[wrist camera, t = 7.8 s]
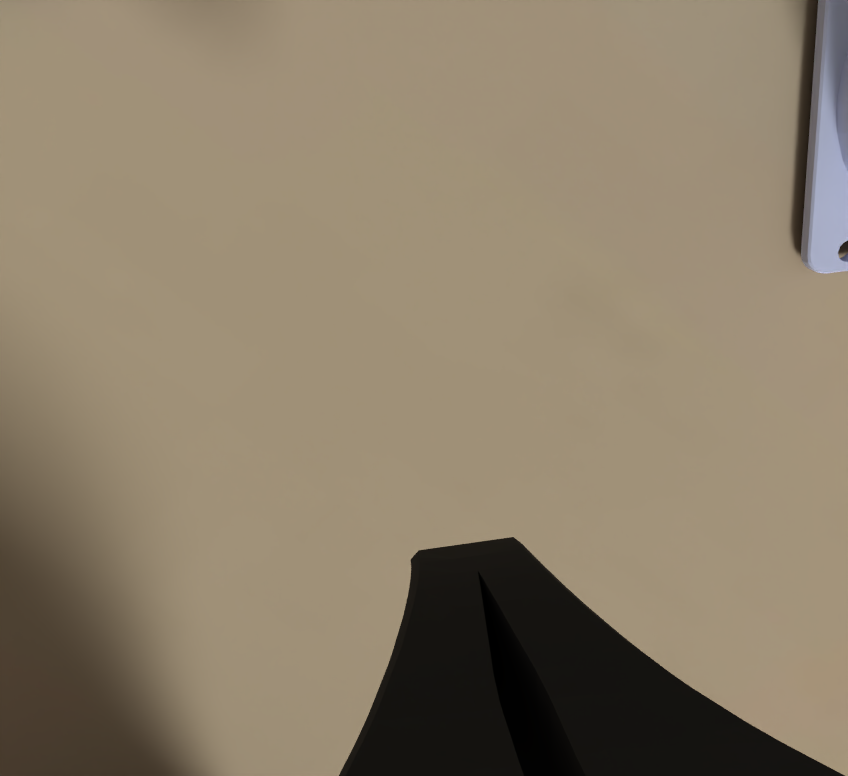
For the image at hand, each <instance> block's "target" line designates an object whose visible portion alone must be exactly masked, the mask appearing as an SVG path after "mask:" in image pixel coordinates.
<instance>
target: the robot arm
mask: <svg viewBox="0 0 848 776" xmlns="http://www.w3.org/2000/svg"><path fill="white" fill-rule="evenodd" d="M846 241H848V0H818V12H817V27H816V41H815V56H814V71H813V85H812V100H811V114H810V129H809V143H808V158H807V173H806V187H805V202H804V216H803V231H802V246H801V257H802V261H803V263H804V265H805V266H806V267H807V268H809V269H811V270H813V271H815V272H818V273H833V272H841V271H848V253H847V254H846V255H845V256H844V257H842V258H839V255H838V251H839V248H840V246H841V245H842V244H843V243H844V242H846ZM339 776H844V775H842V774H841V773H839V772H837V771H835V770H833V769H831V768H829V767H827V766H825V765H823V764H822V763H820V762H818V761H816V760H814V759H812V758H810V757H808V756H806V755H805V754H803V753H801V752H799V751H797V750H795V749H793V748H791V747H789V746H787V745H786V744H784V743H782V742H780V741H778V740H776V739H775V738H773V737H771V736H769V735H768V734H766V733H764V732H762V731H761V730H759V729H757V728H755V727H754V726H752V725H750V724H749V723H747V722H745V721H744V720H742V719H740V718H739V717H737V716H736V715H734V714H732V713H731V712H729V711H728V710H726V709H724V708H723V707H721V706H720V705H718V704H717V703H715V702H713V701H712V700H710V699H709V698H707V697H705V696H704V695H702V694H701V693H699V692H697V691H696V690H694V689H693V688H691V687H690V686H688V685H687V684H685V683H684V682H683V681H681V680H680V679H678V678H677V677H675V676H674V675H672V674H671V673H670V672H668V671H667V670H666V669H664V668H663V667H662V666H660V665H659V664H658V663H656V662H655V661H654V660H652V659H651V658H650V657H648V656H647V655H646V654H644V653H643V652H642V651H640V650H639V649H638V648H637V647H635V646H634V645H633V644H632V643H630V642H629V641H628V640H627V639H625V638H624V637H623V636H622V635H620V634H619V633H618V632H617V631H616V630H614V629H613V628H612V627H611V626H610V625H609V624H607V623H606V622H605V621H604V620H603V619H601V618H600V617H599V616H598V615H597V614H596V613H594V612H593V611H592V610H591V609H590V608H589V607H587V606H586V605H585V604H584V603H583V602H582V601H581V600H580V599H578V598H577V597H576V596H575V595H574V594H573V593H572V592H571V591H570V590H569V589H568V588H566V587H565V586H564V585H563V584H562V583H561V582H560V581H559V580H558V579H557V578H556V577H555V576H554V575H553V574H552V573H551V572H550V571H549V570H548V569H547V568H545V567H544V566H543V565H542V564H541V563H540V562H539V561H538V560H537V559H536V558H535V557H534V556H533V555H532V554H531V553H530V552H529V551H528V550H527V548H526V547H525V546H524V545H523V544H521V543H520V542H519V541H518V540H516V539H515V538H514V537H511V538H504V539H497V540H490V541H482V542H475V543H468V544H461V545H454V546H447V547H440V548H433V549H426V550H419V551H418V552H417V553H416V554H415V555H414V556H413V558H412V559H411V581H410V588H409V593H408V598H407V603H406V607H405V611H404V616H403V619H402V622H401V626H400V629H399V632H398V636H397V639H396V642H395V646H394V649H393V652H392V656H391V658H390V661H389V664H388V667H387V669H386V672H385V675H384V677H383V680H382V682H381V685H380V687H379V690H378V692H377V695H376V697H375V700H374V702H373V705H372V707H371V710H370V712H369V715H368V717H367V719H366V721H365V724H364V726H363V728H362V730H361V732H360V735H359V737H358V739H357V741H356V743H355V745H354V747H353V749H352V751H351V753H350V755H349V757H348V759H347V761H346V763H345V765H344V767H343V769H342V771H341V773H340V775H339Z"/></svg>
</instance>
